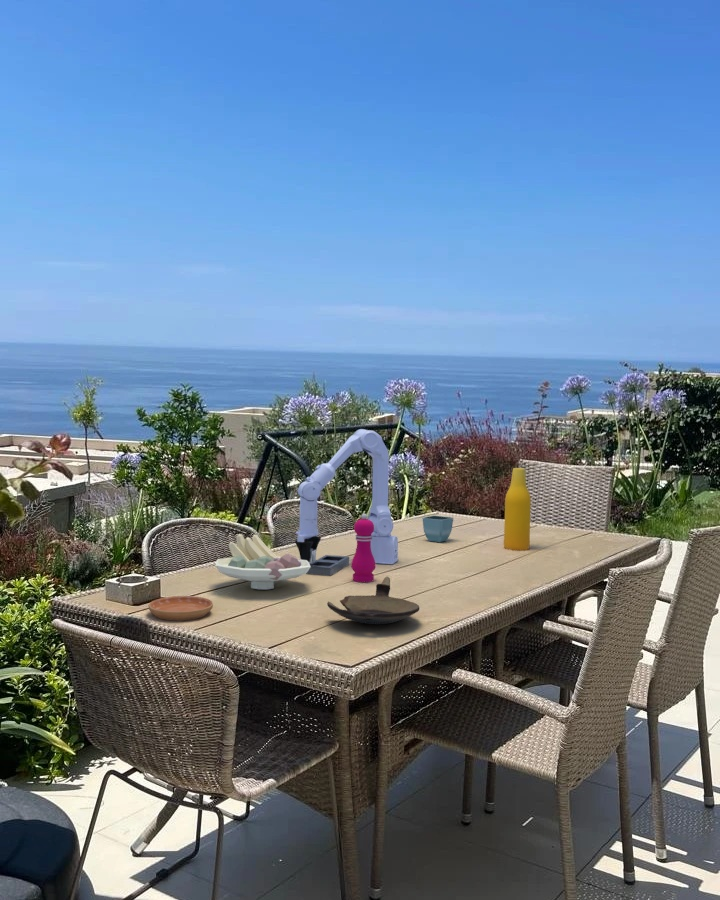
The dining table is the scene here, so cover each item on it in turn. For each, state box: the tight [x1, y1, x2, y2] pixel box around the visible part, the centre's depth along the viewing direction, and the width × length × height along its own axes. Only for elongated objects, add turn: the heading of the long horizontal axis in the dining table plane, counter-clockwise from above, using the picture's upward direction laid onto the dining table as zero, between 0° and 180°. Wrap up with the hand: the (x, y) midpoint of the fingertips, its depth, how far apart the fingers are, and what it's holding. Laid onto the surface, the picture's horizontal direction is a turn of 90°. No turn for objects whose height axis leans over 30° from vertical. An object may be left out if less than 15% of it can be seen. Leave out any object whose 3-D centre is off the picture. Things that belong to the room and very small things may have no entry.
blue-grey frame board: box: [305, 554, 350, 577], centre depth 286 cm, size 8×19×2 cm, turn 163°
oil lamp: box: [327, 576, 420, 625], centre depth 226 cm, size 22×30×8 cm
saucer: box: [148, 595, 214, 621], centre depth 228 cm, size 16×16×3 cm
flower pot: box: [422, 515, 454, 543], centre depth 340 cm, size 9×9×9 cm
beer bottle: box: [503, 467, 532, 551], centre depth 327 cm, size 9×9×29 cm
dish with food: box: [215, 533, 311, 590], centre depth 258 cm, size 28×28×14 cm
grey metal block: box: [299, 548, 317, 564], centre depth 292 cm, size 4×4×5 cm
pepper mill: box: [351, 513, 376, 583], centre depth 270 cm, size 7×7×20 cm
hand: (307, 560), depth 292 cm, fingers open, 5 cm apart
